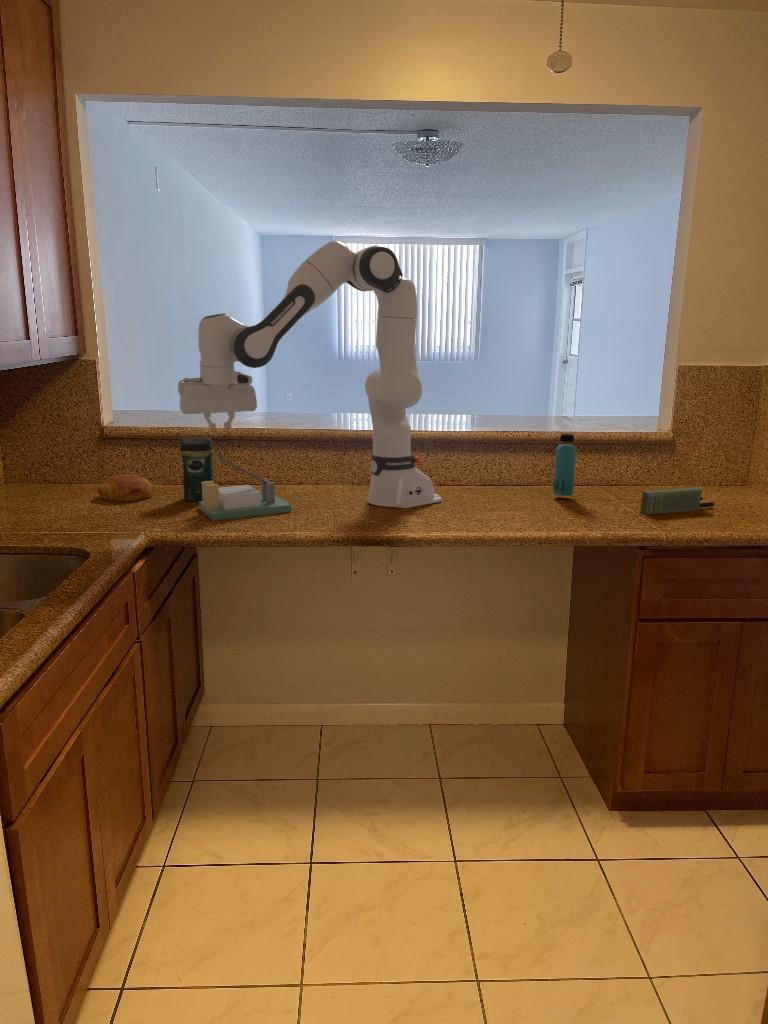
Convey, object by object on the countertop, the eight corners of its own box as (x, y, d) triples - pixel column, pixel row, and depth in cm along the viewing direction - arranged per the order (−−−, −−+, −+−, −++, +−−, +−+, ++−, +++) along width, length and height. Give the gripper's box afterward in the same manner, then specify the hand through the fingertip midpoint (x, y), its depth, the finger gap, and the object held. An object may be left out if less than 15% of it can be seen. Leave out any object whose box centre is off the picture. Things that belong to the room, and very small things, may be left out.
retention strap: (267, 485, 198) (269, 481, 198) (270, 487, 196) (273, 483, 196) (212, 456, 189) (215, 451, 189) (215, 458, 186) (217, 453, 186)
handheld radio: (638, 513, 198) (707, 506, 206) (645, 516, 195) (716, 509, 203) (641, 490, 196) (711, 485, 204) (648, 493, 193) (719, 487, 201)
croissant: (97, 502, 212) (91, 477, 209) (148, 489, 219) (142, 465, 217) (108, 511, 200) (101, 484, 197) (161, 497, 208) (155, 471, 205)
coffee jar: (218, 495, 212) (215, 435, 207) (214, 501, 204) (210, 439, 199) (186, 496, 211) (182, 435, 206) (180, 502, 203) (176, 439, 199)
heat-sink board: (273, 500, 206) (272, 472, 204) (291, 511, 194) (290, 481, 192) (199, 508, 196) (197, 478, 194) (213, 520, 184) (211, 489, 181)
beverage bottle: (573, 496, 216) (578, 432, 211) (573, 501, 209) (578, 435, 205) (551, 495, 217) (556, 432, 212) (551, 500, 211) (556, 434, 206)
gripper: (180, 378, 176) (183, 433, 179) (257, 377, 185) (259, 428, 188) (174, 377, 181) (178, 430, 184) (250, 375, 190) (252, 426, 194)
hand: (220, 429), depth 187 cm, fingers open, 3 cm apart
